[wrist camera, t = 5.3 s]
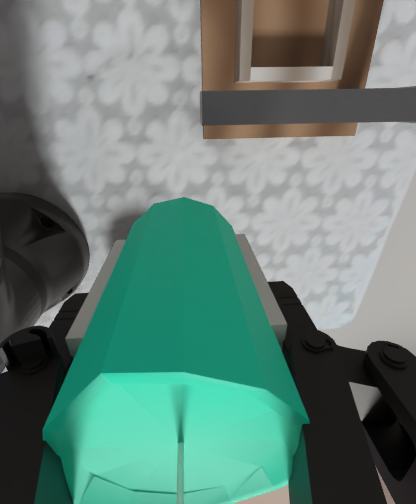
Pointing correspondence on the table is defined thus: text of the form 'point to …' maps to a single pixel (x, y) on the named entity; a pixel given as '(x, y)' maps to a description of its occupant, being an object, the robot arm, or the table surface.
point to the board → (286, 54)
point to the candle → (177, 375)
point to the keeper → (307, 106)
